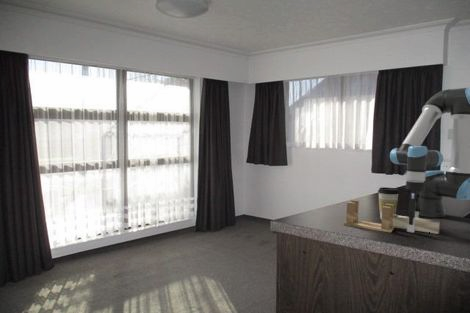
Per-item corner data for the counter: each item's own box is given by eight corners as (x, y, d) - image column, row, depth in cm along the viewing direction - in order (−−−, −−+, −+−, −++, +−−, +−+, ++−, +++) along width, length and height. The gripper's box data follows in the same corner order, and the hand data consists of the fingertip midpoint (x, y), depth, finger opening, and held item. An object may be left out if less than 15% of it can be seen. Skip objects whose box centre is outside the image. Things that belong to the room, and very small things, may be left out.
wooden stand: (349, 221, 173) (350, 199, 172) (394, 228, 162) (395, 204, 162) (343, 225, 166) (344, 202, 165) (390, 232, 155) (392, 208, 154)
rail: (389, 225, 169) (390, 213, 168) (439, 232, 158) (439, 220, 158) (387, 226, 165) (388, 215, 165) (438, 234, 155) (439, 221, 154)
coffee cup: (389, 222, 173) (391, 190, 172) (372, 217, 181) (373, 187, 180) (402, 220, 178) (404, 189, 177) (384, 215, 186) (386, 186, 185)
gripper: (410, 177, 173) (407, 221, 174) (401, 183, 152) (398, 233, 153) (427, 179, 169) (424, 224, 170) (422, 184, 148) (418, 236, 149)
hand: (412, 228), depth 162 cm, fingers open, 13 cm apart
